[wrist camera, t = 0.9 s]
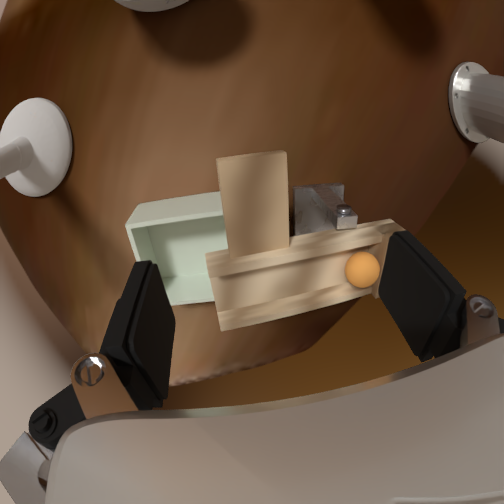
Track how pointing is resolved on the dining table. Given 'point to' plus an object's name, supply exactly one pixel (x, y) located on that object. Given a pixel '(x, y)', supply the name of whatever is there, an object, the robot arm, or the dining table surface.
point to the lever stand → (321, 209)
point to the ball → (362, 269)
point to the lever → (280, 248)
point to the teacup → (150, 4)
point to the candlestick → (35, 147)
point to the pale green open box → (180, 242)
